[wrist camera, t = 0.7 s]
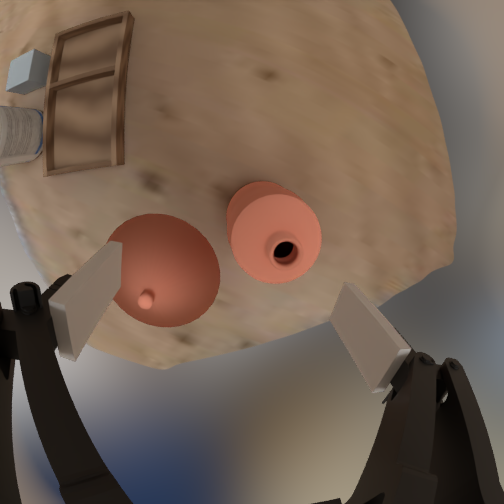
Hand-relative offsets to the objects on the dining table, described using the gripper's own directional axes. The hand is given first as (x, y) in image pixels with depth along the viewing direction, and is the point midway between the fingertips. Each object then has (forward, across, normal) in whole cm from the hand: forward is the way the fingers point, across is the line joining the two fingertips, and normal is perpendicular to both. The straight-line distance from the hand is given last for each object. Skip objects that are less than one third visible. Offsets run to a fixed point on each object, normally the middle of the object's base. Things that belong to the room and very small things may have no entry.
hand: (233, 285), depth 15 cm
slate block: (+27, -40, +18) cm, 52 cm away
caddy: (+27, -26, +14) cm, 40 cm away
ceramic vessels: (+27, -4, -9) cm, 29 cm away
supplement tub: (+27, -38, +7) cm, 47 cm away
